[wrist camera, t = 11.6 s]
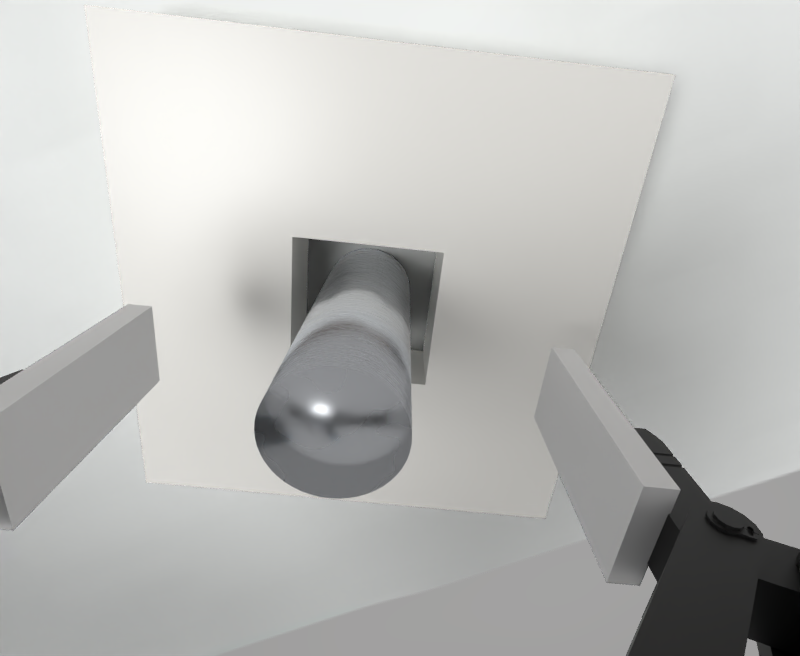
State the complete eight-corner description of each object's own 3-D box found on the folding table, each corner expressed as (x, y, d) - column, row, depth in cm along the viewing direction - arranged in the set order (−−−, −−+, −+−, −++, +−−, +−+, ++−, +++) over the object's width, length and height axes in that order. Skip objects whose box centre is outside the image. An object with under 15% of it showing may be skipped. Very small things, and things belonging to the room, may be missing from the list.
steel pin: (325, 322, 24) (254, 491, 13) (329, 244, 22) (252, 358, 11) (404, 330, 24) (403, 505, 13) (414, 253, 22) (420, 375, 11)
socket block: (177, 439, 27) (146, 482, 23) (139, 25, 19) (83, 4, 16) (529, 472, 27) (545, 518, 24) (631, 83, 19) (675, 74, 16)
